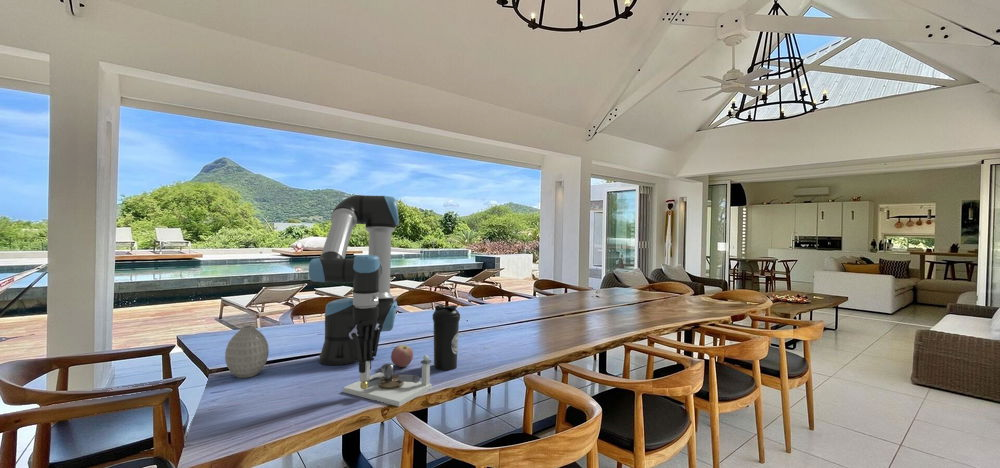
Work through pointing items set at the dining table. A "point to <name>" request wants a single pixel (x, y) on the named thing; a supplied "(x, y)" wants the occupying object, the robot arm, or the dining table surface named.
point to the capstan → (389, 379)
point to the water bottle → (446, 337)
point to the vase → (246, 352)
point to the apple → (402, 355)
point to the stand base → (396, 394)
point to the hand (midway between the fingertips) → (364, 381)
